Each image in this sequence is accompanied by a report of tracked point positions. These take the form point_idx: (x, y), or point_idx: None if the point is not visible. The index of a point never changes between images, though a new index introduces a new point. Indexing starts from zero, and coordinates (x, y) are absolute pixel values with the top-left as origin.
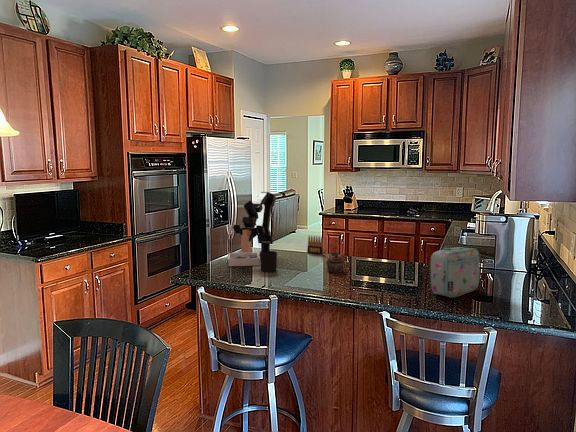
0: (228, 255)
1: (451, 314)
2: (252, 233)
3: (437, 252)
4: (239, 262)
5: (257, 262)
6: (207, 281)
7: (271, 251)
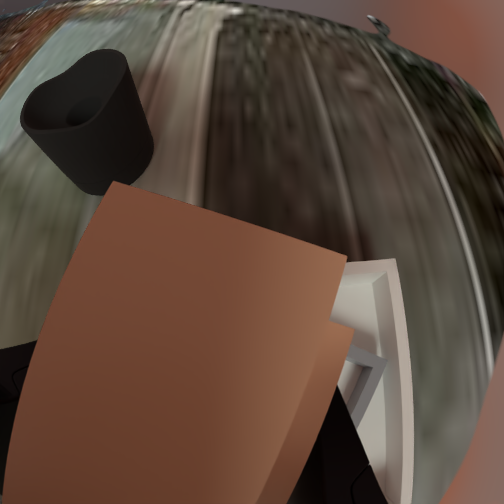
0: (413, 422)
1: (5, 15)
2: (4, 357)
3: None
4: None
5: None
6: (378, 43)
7: (34, 129)
